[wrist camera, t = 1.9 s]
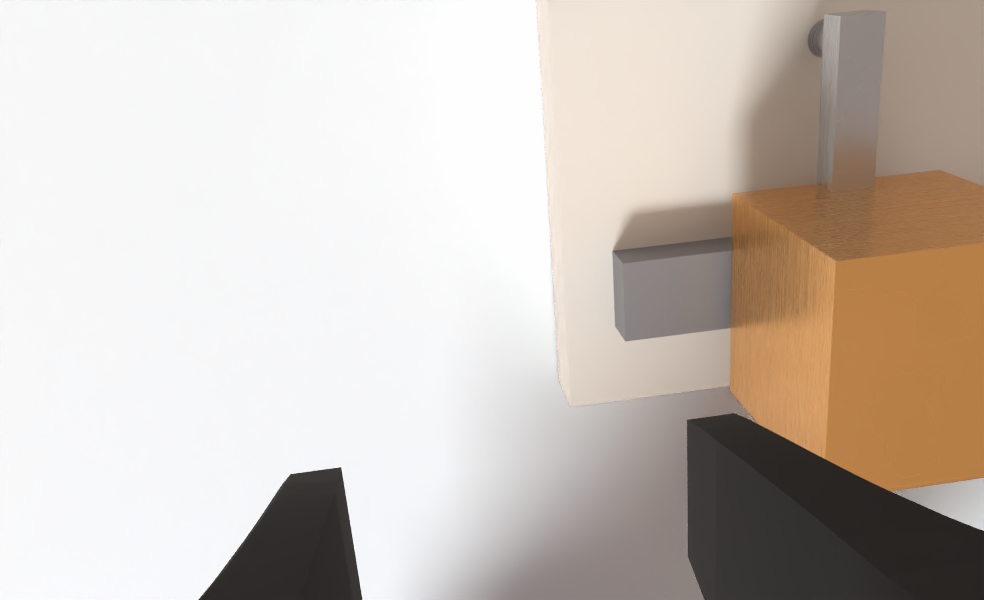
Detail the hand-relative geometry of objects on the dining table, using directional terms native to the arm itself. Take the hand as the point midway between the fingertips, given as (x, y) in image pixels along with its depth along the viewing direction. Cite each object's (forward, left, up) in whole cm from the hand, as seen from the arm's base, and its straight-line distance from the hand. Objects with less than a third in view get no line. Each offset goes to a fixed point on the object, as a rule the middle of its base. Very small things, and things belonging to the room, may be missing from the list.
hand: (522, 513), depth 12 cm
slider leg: (+7, +1, -7) cm, 10 cm away
